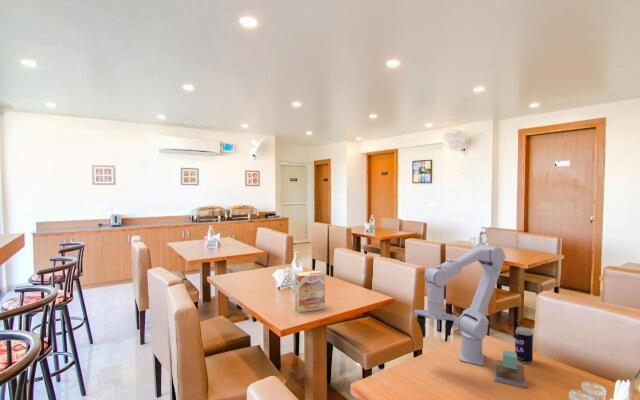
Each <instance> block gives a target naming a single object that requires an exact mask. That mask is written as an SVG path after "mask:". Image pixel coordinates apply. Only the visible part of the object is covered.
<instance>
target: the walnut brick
mask: <svg viewBox="0 0 640 400" xmlns="http://www.w3.org/2000/svg"><path fill="white" fill-rule="evenodd" d="M495 367H496V376H497V377H502V378H506V379H511V380H515V381H520V382H524V379H525V374H524V373H525V370H524V365H523V364H520V363H517V369H512V368H507V367H503V360H502V359H501V360H500V359H496V360H495Z"/></svg>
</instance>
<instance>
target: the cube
mask: <svg viewBox="0 0 640 400" xmlns="http://www.w3.org/2000/svg"><path fill="white" fill-rule="evenodd" d="M502 361H503V367H507V368H512V369H517V364H518V360H517V354H516V352H515V351H511V350H506V349H505V350H504V349H503V350H502Z"/></svg>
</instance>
